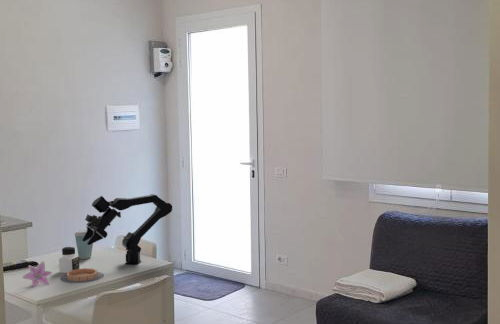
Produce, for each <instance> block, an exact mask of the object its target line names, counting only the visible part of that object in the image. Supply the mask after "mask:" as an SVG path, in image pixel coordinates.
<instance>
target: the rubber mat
mask: <svg viewBox="0 0 500 324" xmlns="http://www.w3.org/2000/svg"><path fill="white" fill-rule="evenodd" d="M104 276H105V275H104V273H102V272H99V271H98V277H96V278H95V279H91V280H87V281H71V280H67V273H65V274H64V275H62V276H61V277H60V278H59V279H60V281H61V282H63V283H66V284H67V283H69V284H83V283H84V284H85V283H92V282H96V281H99V280H101V279H103V278H104Z"/></svg>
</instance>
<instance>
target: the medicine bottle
mask: <svg viewBox="0 0 500 324" xmlns="http://www.w3.org/2000/svg"><path fill="white" fill-rule="evenodd" d="M61 255H62V257H59V258H58V269H59V273H60V274H67V272H69V271H71V270H76V269H81V268H80V258H79V256H78V255H76V248H75V247H74V246H65V247H63V248H62V249H61Z"/></svg>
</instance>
